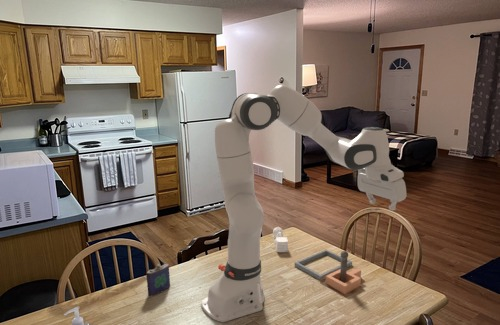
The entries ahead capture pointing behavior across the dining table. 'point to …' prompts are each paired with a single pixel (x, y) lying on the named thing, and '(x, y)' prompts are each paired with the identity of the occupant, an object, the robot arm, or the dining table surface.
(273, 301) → the dining table surface
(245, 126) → the robot arm
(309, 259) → the grey rectangular frame
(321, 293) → the dining table surface
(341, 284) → the ring
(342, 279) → the post
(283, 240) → the container set
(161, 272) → the flask
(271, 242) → the dining table surface
